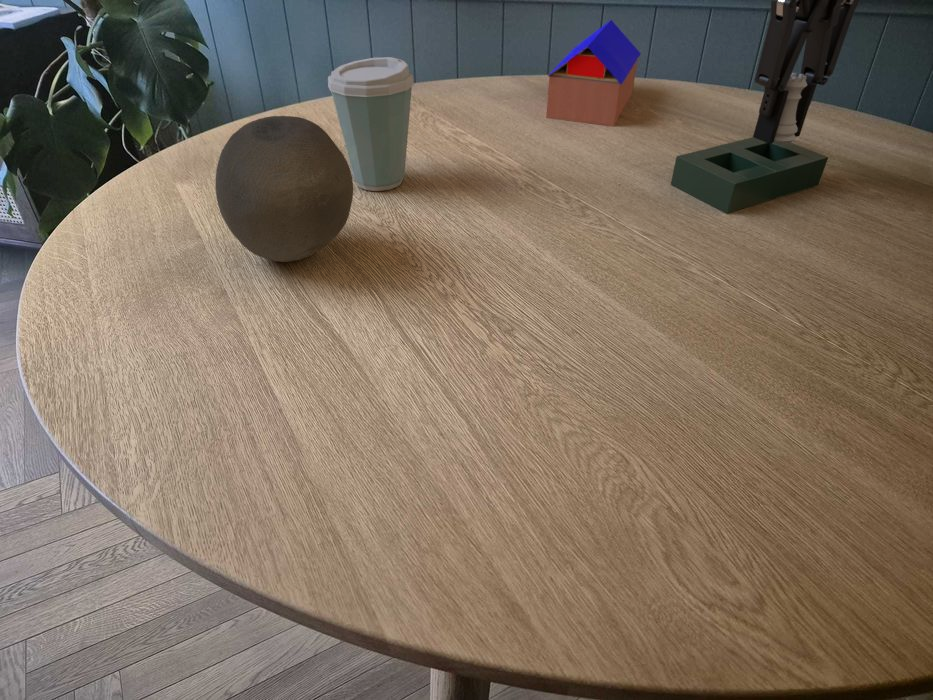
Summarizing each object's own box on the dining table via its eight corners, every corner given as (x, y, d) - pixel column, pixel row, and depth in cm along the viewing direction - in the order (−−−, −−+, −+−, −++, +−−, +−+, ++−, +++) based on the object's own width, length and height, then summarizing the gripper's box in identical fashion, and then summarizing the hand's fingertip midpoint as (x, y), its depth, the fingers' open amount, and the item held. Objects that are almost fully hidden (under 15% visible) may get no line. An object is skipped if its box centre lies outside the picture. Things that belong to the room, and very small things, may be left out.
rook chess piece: (795, 136, 88) (815, 73, 83) (793, 146, 85) (814, 82, 80) (760, 130, 90) (778, 68, 85) (757, 141, 86) (775, 77, 81)
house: (543, 118, 110) (549, 43, 103) (570, 84, 125) (577, 17, 118) (615, 127, 107) (626, 50, 100) (634, 91, 122) (645, 22, 114)
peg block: (759, 160, 96) (767, 133, 94) (818, 185, 89) (828, 157, 87) (670, 184, 89) (676, 155, 87) (726, 213, 82) (735, 183, 80)
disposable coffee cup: (357, 205, 84) (345, 82, 74) (326, 175, 91) (311, 60, 82) (431, 187, 88) (428, 69, 79) (396, 160, 95) (389, 49, 86)
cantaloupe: (214, 289, 68) (176, 147, 59) (251, 225, 79) (223, 97, 70) (351, 290, 68) (334, 149, 59) (368, 226, 79) (356, 99, 70)
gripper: (858, -79, 79) (796, 117, 93) (757, -72, 72) (707, 138, 86) (919, -73, 74) (843, 134, 88) (816, -65, 67) (752, 158, 81)
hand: (776, 136), depth 87 cm, fingers closed on rook chess piece, 4 cm apart
